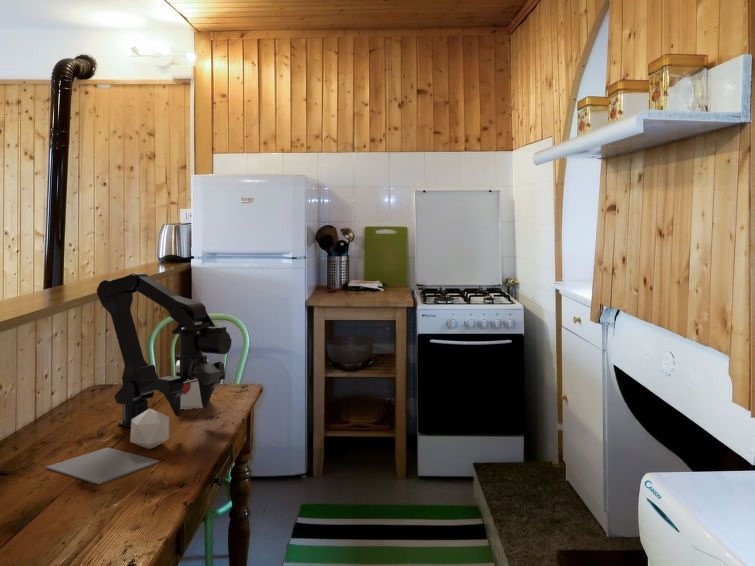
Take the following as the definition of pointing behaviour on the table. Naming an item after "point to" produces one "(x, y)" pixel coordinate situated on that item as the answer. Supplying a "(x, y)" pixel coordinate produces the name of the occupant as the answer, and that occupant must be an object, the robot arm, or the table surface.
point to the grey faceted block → (149, 429)
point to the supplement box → (189, 393)
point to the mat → (102, 465)
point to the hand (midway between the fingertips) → (191, 412)
